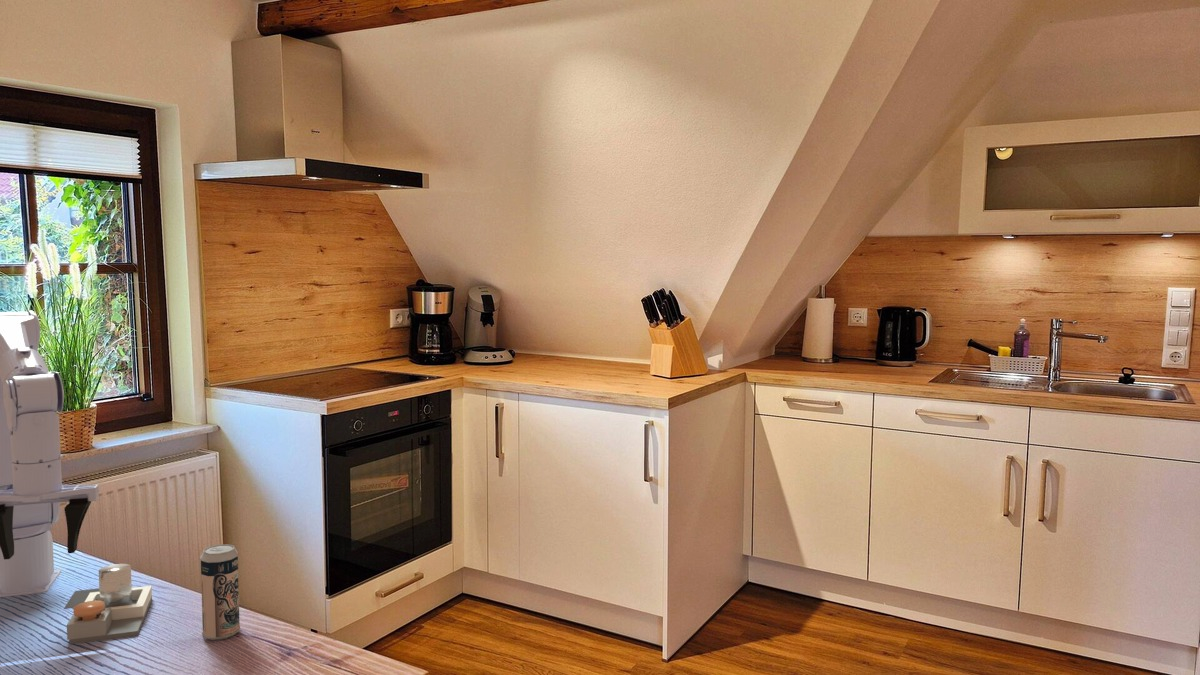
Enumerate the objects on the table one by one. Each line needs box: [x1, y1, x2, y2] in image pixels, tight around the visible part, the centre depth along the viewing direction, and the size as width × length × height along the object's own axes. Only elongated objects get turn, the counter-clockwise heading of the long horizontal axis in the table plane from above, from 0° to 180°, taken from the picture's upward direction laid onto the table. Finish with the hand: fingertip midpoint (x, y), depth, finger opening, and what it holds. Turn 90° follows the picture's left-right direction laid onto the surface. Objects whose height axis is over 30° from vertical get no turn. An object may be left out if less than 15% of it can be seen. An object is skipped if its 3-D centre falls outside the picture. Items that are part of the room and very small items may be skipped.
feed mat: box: [63, 587, 99, 610], centre depth 126 cm, size 7×7×1 cm
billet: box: [98, 563, 133, 608], centre depth 120 cm, size 4×4×6 cm
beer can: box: [199, 543, 241, 641], centre depth 114 cm, size 5×5×12 cm
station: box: [66, 585, 153, 645], centre depth 118 cm, size 13×8×3 cm, turn 21°
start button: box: [72, 600, 105, 620], centre depth 113 cm, size 4×4×3 cm
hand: (41, 554), depth 118 cm, fingers open, 7 cm apart
